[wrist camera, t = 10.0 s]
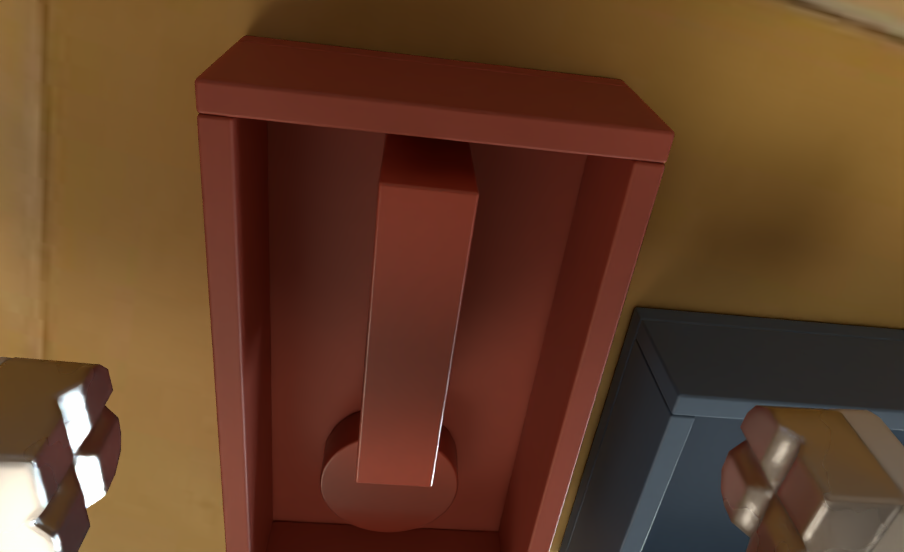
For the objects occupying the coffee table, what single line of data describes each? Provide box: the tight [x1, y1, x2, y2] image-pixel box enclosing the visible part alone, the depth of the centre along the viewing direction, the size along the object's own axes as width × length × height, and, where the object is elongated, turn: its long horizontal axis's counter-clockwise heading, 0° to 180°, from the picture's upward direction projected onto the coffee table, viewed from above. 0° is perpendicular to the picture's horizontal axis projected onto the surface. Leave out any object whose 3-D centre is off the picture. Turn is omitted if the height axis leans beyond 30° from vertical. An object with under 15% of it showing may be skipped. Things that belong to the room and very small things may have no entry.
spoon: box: [320, 133, 479, 532], centre depth 16 cm, size 12×4×3 cm, turn 173°
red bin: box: [195, 35, 674, 552], centre depth 17 cm, size 15×8×4 cm, turn 173°
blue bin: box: [559, 307, 904, 552], centre depth 19 cm, size 10×10×4 cm
